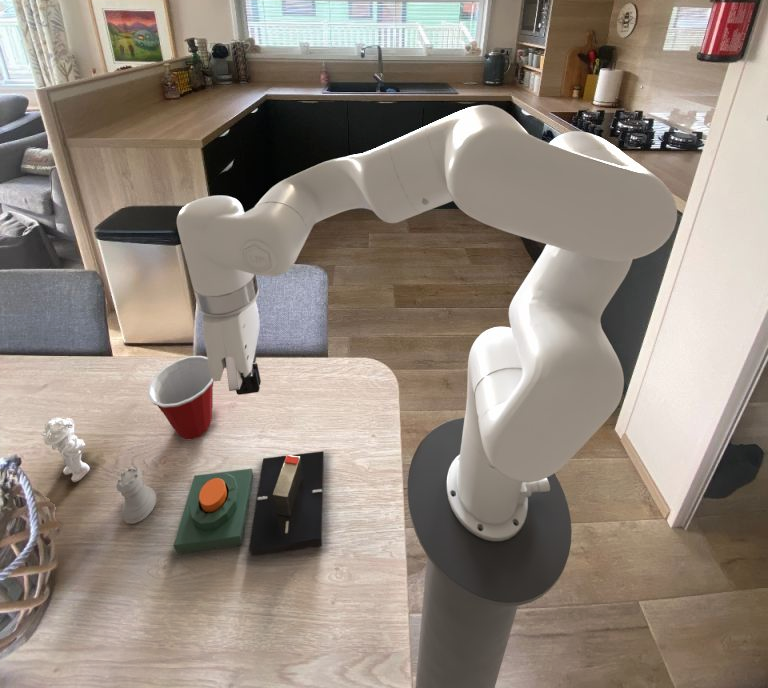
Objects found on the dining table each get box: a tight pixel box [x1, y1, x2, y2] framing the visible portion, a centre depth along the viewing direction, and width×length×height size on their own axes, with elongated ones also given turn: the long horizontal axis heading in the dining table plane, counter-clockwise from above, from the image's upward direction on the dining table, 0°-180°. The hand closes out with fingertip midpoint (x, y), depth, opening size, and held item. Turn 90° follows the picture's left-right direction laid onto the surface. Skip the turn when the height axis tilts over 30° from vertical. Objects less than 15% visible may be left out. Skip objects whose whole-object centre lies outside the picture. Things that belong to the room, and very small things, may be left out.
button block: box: [173, 468, 255, 555], centre depth 59 cm, size 9×9×4 cm
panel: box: [248, 450, 325, 557], centre depth 60 cm, size 10×12×2 cm
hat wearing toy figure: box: [41, 417, 90, 483], centre depth 63 cm, size 9×4×12 cm, turn 60°
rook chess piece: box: [115, 466, 157, 524], centre depth 58 cm, size 4×4×8 cm
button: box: [199, 478, 227, 513], centre depth 58 cm, size 4×4×2 cm
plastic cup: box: [147, 355, 215, 441], centre depth 70 cm, size 11×11×12 cm
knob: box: [273, 454, 302, 517], centre depth 59 cm, size 6×2×5 cm, turn 172°
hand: (249, 388), depth 58 cm, fingers closed
